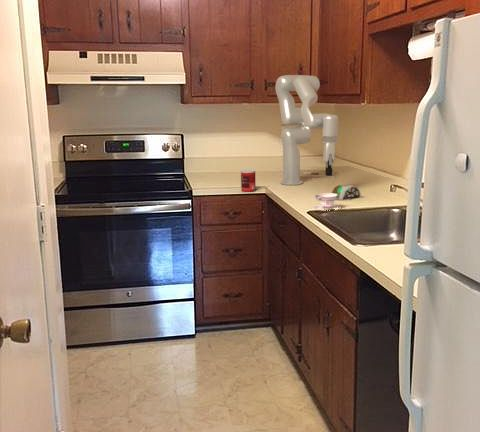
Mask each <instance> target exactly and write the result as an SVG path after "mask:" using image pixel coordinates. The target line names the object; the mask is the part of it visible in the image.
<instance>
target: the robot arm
mask: <svg viewBox="0 0 480 432" xmlns="http://www.w3.org/2000/svg"><path fill="white" fill-rule="evenodd" d="M320 83H321V82H320V79H319V78H318V77H317V76H315V75H307V74H305V75H304V74H286V75H281V76H279V77H278V78H277V79H276V81H275V93H276V96H277V100H278V104H279V111H280V117H281V122H282V124H283V125H284V126H290V127H286V128H284V129H282V131H281V132H280V133H281V135H280V138H281V142H282V165H283V166H282V180H280V185H285V186H298V185H302V184H303V180H301V151H300V149H299V147H298V145H302V144H304V145H305V144H308V143H310V142H311V139H312V130H316V129H318V130H319V129H322V136H321V137H322V139H321V140H322V141H321V143H322V144H323V155H322V160H323V162H324V163H325V172H324V173H325V176H326V177H332V176H333V163H334V162H335V157H336V144H337V143H338V139H339V138H338V135H339V134H338V132H339V117H338V115H336V114H330V113H312V111H311V110H310V107H311V106H313V105H315V103H317V101H318V97H319V96H318V95H317V93H316V92H317V91H318V90H319V89H320V87H321V84H320ZM290 92H296V93H297V96H298V97H299V100H300V101H301V103H302V105H301V107H296V103H295V99H294V97H293V95H292V94H291V93H290ZM291 126H292V127H291ZM293 126H294V127H293Z"/></svg>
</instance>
